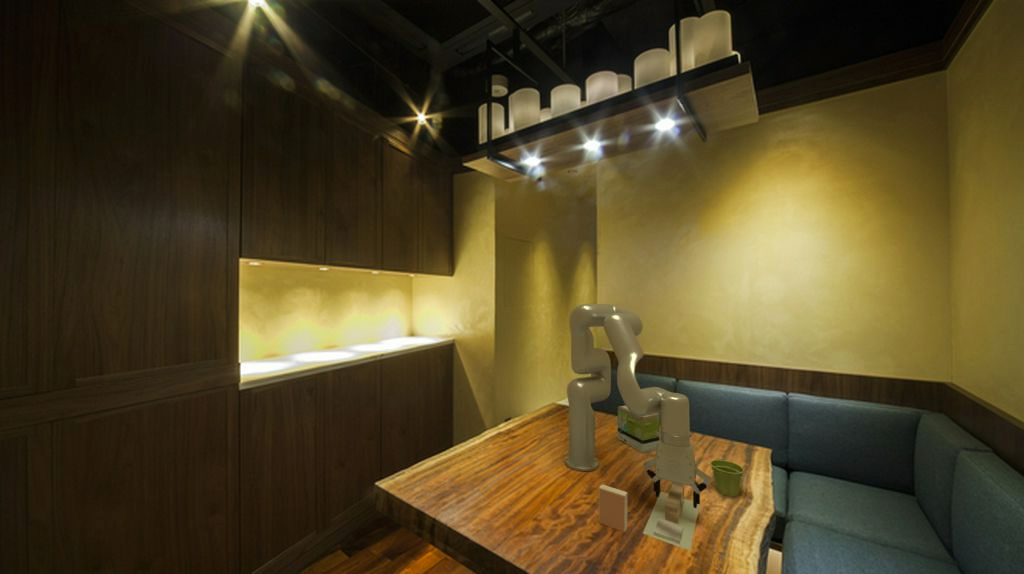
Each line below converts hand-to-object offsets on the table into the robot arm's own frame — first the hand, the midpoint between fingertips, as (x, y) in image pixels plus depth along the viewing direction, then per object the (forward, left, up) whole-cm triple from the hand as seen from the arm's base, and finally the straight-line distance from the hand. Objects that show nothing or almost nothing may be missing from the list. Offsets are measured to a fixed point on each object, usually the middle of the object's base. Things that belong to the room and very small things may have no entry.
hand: (676, 500), depth 98 cm
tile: (+14, -14, -5) cm, 20 cm away
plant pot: (-24, +11, -5) cm, 27 cm away
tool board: (+1, -1, -5) cm, 5 cm away
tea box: (-47, -22, -5) cm, 52 cm away
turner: (+2, -1, -4) cm, 5 cm away
